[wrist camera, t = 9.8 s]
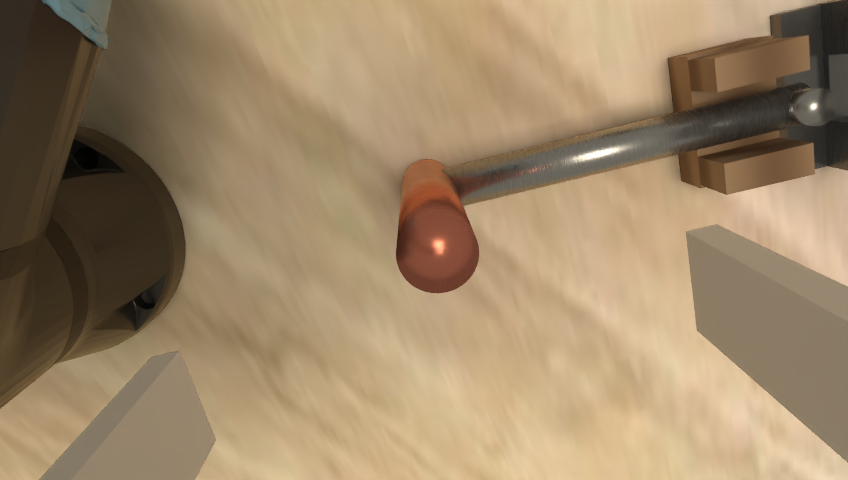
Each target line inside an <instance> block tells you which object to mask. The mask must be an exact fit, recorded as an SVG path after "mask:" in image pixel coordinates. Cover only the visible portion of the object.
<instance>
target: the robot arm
mask: <svg viewBox="0 0 848 480" xmlns="http://www.w3.org/2000/svg"><path fill="white" fill-rule="evenodd" d="M111 3H112V0H0V409H1V408H2V407H3V406H4V405H5V404H7V403H8V402H9V401H10V400H12V399H13V398H14V397H15V396H17V395H18V394H19V393H20V392H21V391H23V390H24V389H25V388H26V387H28V386H29V385H30V384H31V383H33V382H34V381H35V380H36V379H37V378H39V377H40V376H41V375H42V374H44V373H45V372H46V371H47V370H48V369H49V368H51V367H52V366H53V365H54V364H56V363H60V362H63V361H67V360H70V359H74V358H77V357H81V356H84V355H88V354H91V353H95V352H98V351H102V350H105V349H108V348H111V347H113V346H115V345H118V344H120V343H122V342H123V341H125V340H127V339H129V338H131V337H132V336H134V335H135V334H137V333H138V332H139V331H140V330H142V329H143V328H144V327H145V326H146V325H147V324H148V323H149V322H150V321H152V320H153V319H154V318H155V317H156V316H157V315H158V314H159V313H160V312H161V311H162V310H163V309H164V308H165V306H166V305H167V304H168V302H169V301H170V299H171V298H172V296H173V294H174V293H175V291H176V289H177V286H178V284H179V281H180V278H181V275H182V271H183V266H184V258H185V242H184V233H183V228H182V224H181V220H180V217H179V214H178V211H177V209H176V206H175V204H174V202H173V200H172V198H171V196H170V194H169V192H168V191H167V189H166V187H165V186H164V184H163V183H162V181H161V180H160V179H159V178H158V176H157V175H156V174H155V173H154V171H153V170H152V169H151V168H150V167H149V166H148V165H147V164H146V163H145V162H144V161H143V160H142V159H141V158H139V157H138V156H137V155H136V154H135V153H133V152H132V151H131V150H129V149H128V148H127V147H125V146H124V145H122V144H120V143H119V142H117V141H115V140H114V139H112V138H110V137H108V136H106V135H104V134H101V133H99V132H96V131H94V130H91V129H88V128H84V127H80V126H78V123H79V120H80V117H81V114H82V110H83V107H84V104H85V101H86V98H87V94H88V91H89V88H90V85H91V82H92V78H93V75H94V72H95V69H96V66H97V62H98V59H99V56H100V53H101V50H102V49H104V50H106V49H107V46H108V43H109V37H108V36H107V34H106V28H107V23H108V18H109V13H110V8H111ZM686 237H687V246H688V255H689V264H690V273H691V282H692V291H693V300H694V309H695V318H696V327H697V331H698V332H699V333H701V334H702V335H703V336H704V337H705V338H706V339H707V340H709V341H710V342H711V343H712V344H713V345H714V346H715V347H717V348H718V349H719V350H720V351H721V352H722V353H723V354H725V355H726V356H727V357H728V358H729V359H730V360H731V361H732V362H734V363H735V364H736V365H737V366H738V367H739V368H740V369H742V370H743V371H744V372H745V373H746V374H747V375H748V376H750V377H751V378H752V379H753V380H754V381H755V382H756V383H758V384H759V385H760V386H761V387H762V388H763V389H764V390H766V391H767V392H768V393H769V394H770V395H771V396H772V397H774V398H775V399H776V400H777V401H778V402H779V403H780V404H782V405H783V406H784V407H785V408H786V409H787V410H788V411H790V412H791V413H792V414H793V415H794V416H795V417H796V418H798V419H799V420H800V421H801V422H802V423H803V424H804V425H806V426H807V427H808V428H809V429H810V430H811V431H812V432H814V433H815V434H816V435H817V436H818V437H819V438H820V439H822V440H823V441H824V442H825V443H826V444H827V445H828V446H830V447H831V448H832V449H833V450H834V451H835V452H836V453H838V454H839V455H840V456H841V457H842V458H843V459H844V460H846V461H847V462H848V287H847V286H845V285H843V284H841V283H839V282H837V281H835V280H832V279H830V278H828V277H826V276H824V275H822V274H820V273H818V272H816V271H814V270H811V269H809V268H807V267H805V266H803V265H801V264H799V263H797V262H795V261H793V260H790V259H788V258H786V257H784V256H782V255H780V254H778V253H776V252H774V251H772V250H769V249H767V248H765V247H763V246H761V245H759V244H757V243H755V242H753V241H751V240H749V239H746V238H744V237H742V236H740V235H738V234H736V233H734V232H732V231H730V230H728V229H725V228H723V227H721V226H719V225H717V224H716V225H711V226H707V227H703V228H699V229H694V230H690V231H686ZM215 441H216V439H215V436H214V434H213V431H212V429H211V426H210V424H209V422H208V419H207V417H206V414H205V412H204V409H203V407H202V404H201V402H200V399H199V397H198V394H197V392H196V389H195V387H194V384H193V382H192V379H191V377H190V375H189V372H188V370H187V367H186V365H185V362H184V360H183V357H182V355H181V352H180V351H176V352H171V353H167V354H163V355H159V356H154V357H151V358H150V359H149V360H148V361H147V363H146V364H145V365H144V366H143V367H142V368H141V369H140V370H139V371H138V372H137V373H136V374H135V376H134V377H133V378H132V379H131V380H130V381H129V382H128V383H127V384H126V385H125V386H124V388H123V389H122V390H121V391H120V392H119V393H118V394H117V395H116V396H115V397H114V398H113V400H112V401H111V402H110V403H109V404H108V405H107V406H106V407H105V408H104V409H103V410H102V412H101V413H100V414H99V415H98V416H97V417H96V418H95V419H94V420H93V421H92V422H91V424H90V425H89V426H88V427H87V428H86V429H85V430H84V431H83V432H82V433H81V434H80V436H79V437H78V438H77V439H76V440H75V441H74V442H73V443H72V444H71V445H70V446H69V448H68V449H67V450H66V451H65V452H64V453H63V454H62V455H61V456H60V457H59V458H58V460H57V461H56V462H55V463H54V464H53V465H52V466H51V467H50V468H49V469H48V470H47V472H46V473H45V474H44V475H43V476H42V477H41V478H40V479H39V480H195V479H196V477H197V475H198V473H199V471H200V469H201V467H202V465H203V463H204V462H205V460H206V458H207V456H208V454H209V452H210V450H211V448H212V446H213V445H214V443H215Z"/></svg>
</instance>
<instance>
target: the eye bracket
mask: <svg viewBox="0 0 848 480" xmlns="http://www.w3.org/2000/svg"><path fill="white" fill-rule="evenodd" d="M770 18H771V34H772V36H773V39H778V38H787V37H796V36H805V35H809V54H810V70H807V71H803V72H799V73H795V74H791V75H787V76H782V77H778V78H776V88H778V87H782V86H786V85H790V84H795V83H799V82H802V83H805V84H806V85H808V86H809V87H810V88H826V89H830V90H831V91H833V92H834V93H835V94H836V96H837V99H838V109H837V112H836V114H835V115H834V117H833V118H832V119H831V120H830V121H829V122H828V123H826V124H824V125H821V126H807V125H799V126H795V127H791V128H787V129H783V130H779V137H780V138H787V139H793V140H799V141H806V142H812V143H814V165H815V169H817V168H821V167H825V166H829V167H834V168H839V169H843V170H848V0H832V1H828V2H824V3H820V4H816V5H812V6H808V7H804V8H800V9H796V10H792V11H788V12H784V13H780V14H776V15H772V16H770Z"/></svg>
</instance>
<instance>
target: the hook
mask: <svg viewBox="0 0 848 480" xmlns="http://www.w3.org/2000/svg"><path fill="white" fill-rule="evenodd" d="M837 109H838V99H837V96H836V94H835V93H834V92H833V91H831V90H830V89H826V88H810V87H809V86H808V85H806V84H805V83H802V82H799V83H795V84H790V85H786V86H782V87H778V88H774V89H770V90H766V91H762V92H757V93H753V94H749V95H745V96H741V97H737V98H733V99H729V100H725V101H720V102H716V103H712V104H708V105H704V106H700V107H696V108H692V109H687V110H683V111H679V112H675V113H671V114H667V115H663V116H659V117H655V118H650V119H646V120H642V121H638V122H634V123H630V124H626V125H622V126H617V127H613V128H609V129H605V130H601V131H597V132H593V133H589V134H585V135H580V136H576V137H572V138H568V139H564V140H560V141H556V142H552V143H548V144H543V145H539V146H535V147H531V148H527V149H523V150H519V151H515V152H510V153H506V154H502V155H498V156H494V157H490V158H486V159H482V160H478V161H473V162H469V163H465V164H461V165H457V166H453V167H449V168H446V167H445V166H444V165H443V164H441V163H439V162H438V161H435V160H430V159H425V160H420V161H417V162H415V163H414V164H412V165H411V166H410V167H409V168H408V169H407V171H406V172H405V174H404V177H403V182H402V193H401V204H400V215H399V227H398V238H397V249H396V259H397V264H398V267H399V270H400V272H401V273H402V275H403V276H404V278H405V279H406V280H407V281H408V282H409V283H410V284H411V285H413V286H414V287H416V288H418V289H420V290H422V291H425V292H430V293H444V292H449V291H452V290H454V289H456V288H458V287H460V286H462V285H463V284H464V283H465V282H466V281H467V280H468V279H469V278H470V277H471V276H472V274H473V273H474V271H475V269H476V266H477V263H478V259H479V247H478V243H477V239H476V237H475V235H474V232H473V230H472V227H471V225H470V222H469V220H468V217H467V215H466V212H465V210H464V207H463V206H465V205H469V204H474V203H478V202H482V201H486V200H490V199H494V198H499V197H503V196H507V195H511V194H515V193H519V192H524V191H528V190H532V189H536V188H540V187H545V186H549V185H553V184H557V183H561V182H565V181H570V180H574V179H578V178H582V177H586V176H590V175H595V174H599V173H603V172H607V171H611V170H616V169H620V168H624V167H628V166H632V165H636V164H641V163H645V162H649V161H653V160H657V159H661V158H666V157H670V156H674V155H678V154H682V153H687V152H691V151H695V150H699V149H703V148H707V147H712V146H716V145H720V144H724V143H728V142H732V141H737V140H741V139H745V138H749V137H753V136H758V135H762V134H766V133H770V132H774V131H778V130H783V129H787V128H791V127H795V126H799V125H807V126H821V125H824V124H826V123H828V122H829V121H830V120H831V119H832V118H833V117H834V115H835V114H836V112H837Z"/></svg>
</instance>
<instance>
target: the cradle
mask: <svg viewBox="0 0 848 480" xmlns="http://www.w3.org/2000/svg"><path fill="white" fill-rule="evenodd" d="M668 64H669V73H670V82H671V91H672V100H673V109H674V113H675V112H679V111H683V110H687V109H692V108H696V107H700V106H704V105H708V104H712V103H716V102H720V101H725V100H729V99H733V98H737V97H741V96H745V95H749V94H753V93H757V92H762V91H766V90H770V89H774V88H776V78H778V77H782V76H787V75H791V74H795V73H799V72H803V71H807V70H810V54H809V35H805V36H796V37H787V38H778V39H773V36H765V37H756V38H748V39H744V40H740V41H736V42H731V43H727V44H723V45H719V46H715V47H711V48H707V49H703V50H699V51H695V52H691V53H687V54H683V55H679V56H675V57H671V58H668ZM679 162H680V171H681V179H682V181H683V182H686V183H689V184H691V185H694V186H697V187H699V188H704V187H707V188H710V189H713V190H715V191H718V192H721V193H724V194H726V195H728V194H732V193H736V192H740V191H745V190H749V189H753V188H757V187H762V186H766V185H770V184H774V183H779V182H783V181H787V180H791V179H796V178H800V177H804V176H808V175H813V174H815V165H814V143H812V142H806V141H799V140H793V139H787V138H780V137H779V130H778V131H774V132H770V133H766V134H762V135H758V136H753V137H749V138H745V139H741V140H737V141H732V142H728V143H724V144H720V145H716V146H712V147H707V148H703V149H699V150H695V151H691V152H687V153H682V154H679Z"/></svg>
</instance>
